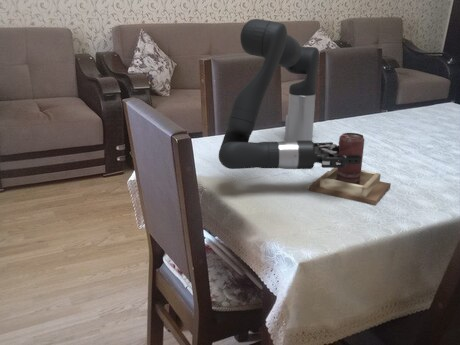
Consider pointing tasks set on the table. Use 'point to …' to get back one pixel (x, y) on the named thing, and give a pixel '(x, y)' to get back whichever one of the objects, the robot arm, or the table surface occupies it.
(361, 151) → the can
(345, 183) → the tray
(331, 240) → the table surface
